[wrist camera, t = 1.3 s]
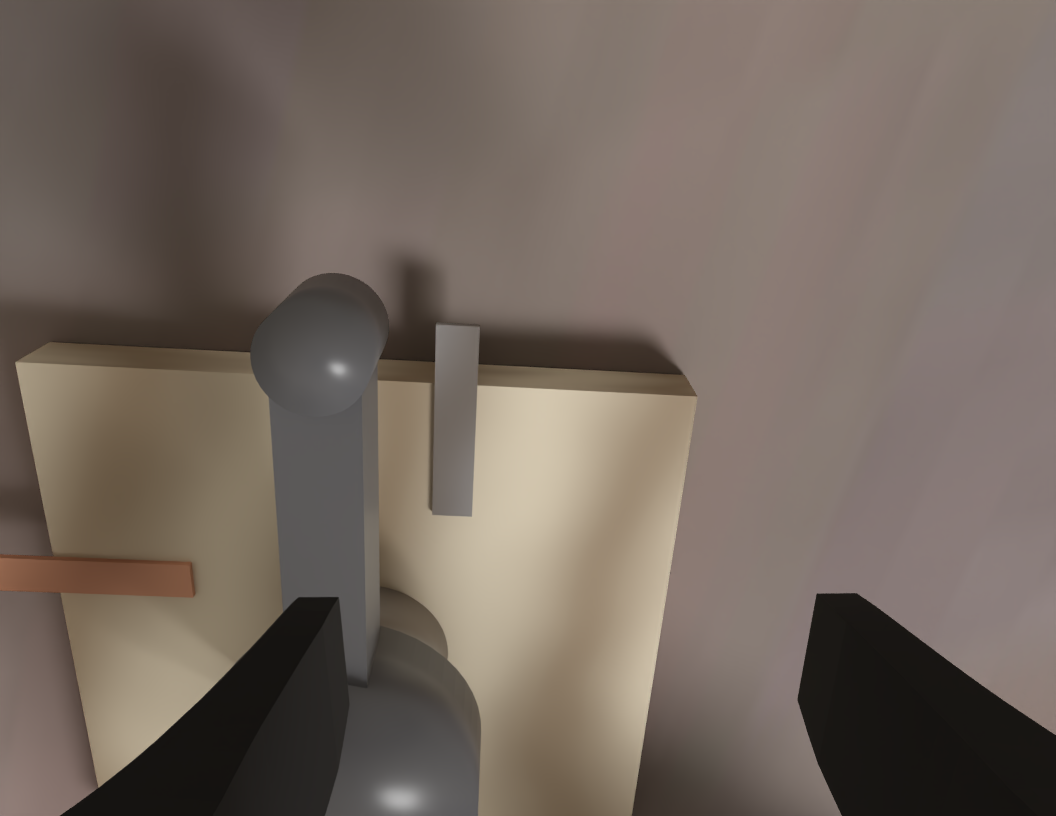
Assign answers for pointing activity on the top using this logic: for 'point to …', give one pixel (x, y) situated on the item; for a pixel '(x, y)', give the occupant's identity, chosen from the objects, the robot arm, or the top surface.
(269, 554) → the base
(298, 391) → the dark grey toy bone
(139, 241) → the top surface
